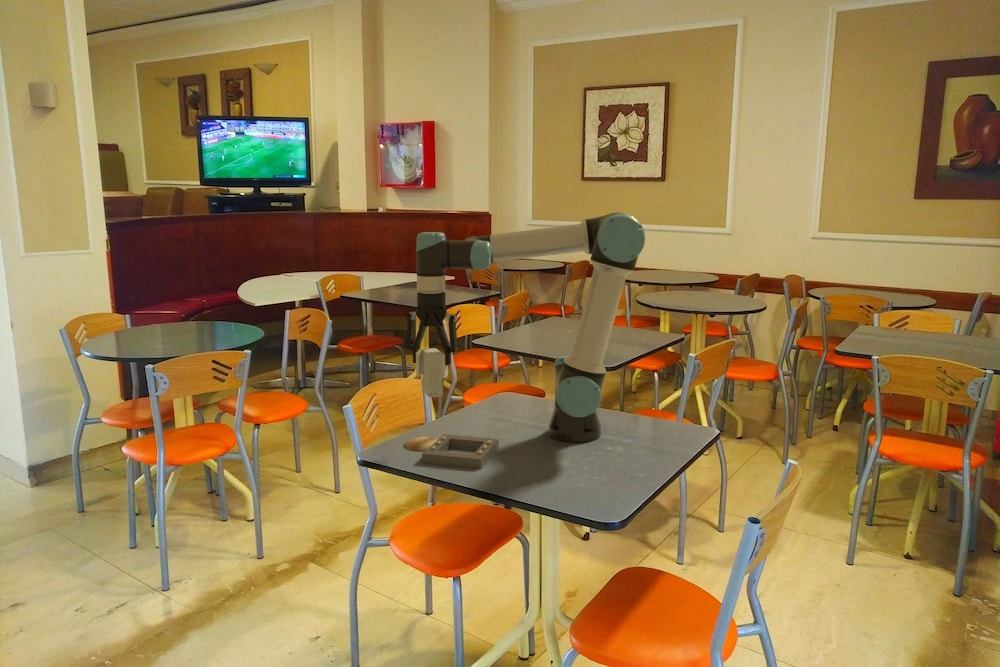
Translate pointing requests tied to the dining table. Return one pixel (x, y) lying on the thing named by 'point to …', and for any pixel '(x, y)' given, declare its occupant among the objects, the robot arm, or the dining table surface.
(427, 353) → the skincare box
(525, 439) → the dining table surface
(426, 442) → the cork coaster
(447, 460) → the studded square frame
